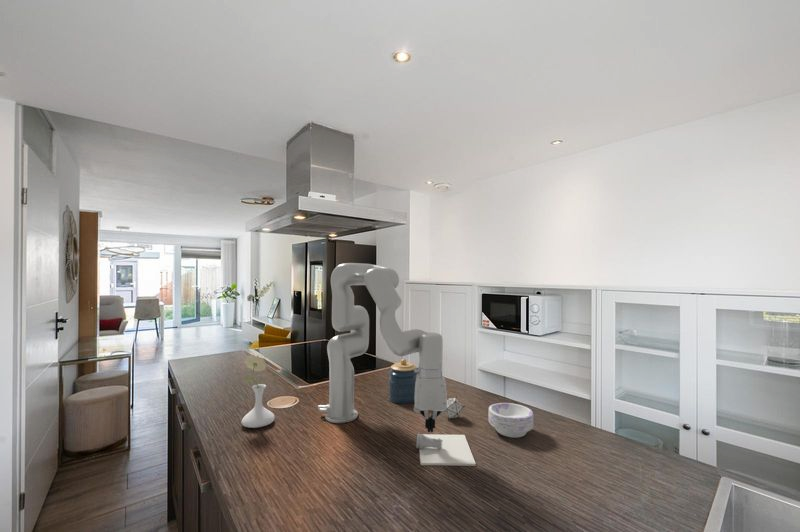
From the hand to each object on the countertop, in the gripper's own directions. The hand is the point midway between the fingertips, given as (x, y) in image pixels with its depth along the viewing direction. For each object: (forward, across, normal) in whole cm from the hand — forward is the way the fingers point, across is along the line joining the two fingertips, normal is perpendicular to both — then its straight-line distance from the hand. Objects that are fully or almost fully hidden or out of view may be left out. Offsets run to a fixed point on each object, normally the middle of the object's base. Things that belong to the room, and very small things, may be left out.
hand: (430, 430), depth 110 cm
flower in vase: (+6, -62, +17) cm, 65 cm away
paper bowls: (+6, +30, +13) cm, 33 cm away
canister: (+6, -8, +44) cm, 45 cm away
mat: (+6, +5, 0) cm, 8 cm away
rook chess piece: (+3, -4, 0) cm, 5 cm away
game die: (+6, +11, +24) cm, 27 cm away
